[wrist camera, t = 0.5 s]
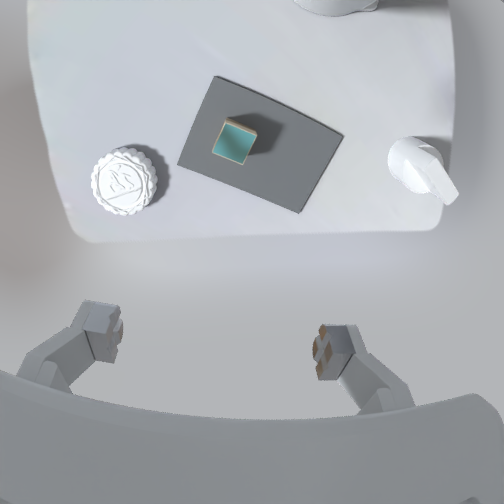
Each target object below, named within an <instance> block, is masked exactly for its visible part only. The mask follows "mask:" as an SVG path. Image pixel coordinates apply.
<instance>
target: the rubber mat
mask: <svg viewBox="0 0 504 504" xmlns="http://www.w3.org/2000/svg"><path fill="white" fill-rule="evenodd" d="M226 118H229V119H231V120H234V121H236V122H239V123H241V124H244V125H246V126H248V127H251V128H253V129H255V130H256V133H257V137H256V139H255V141H254V143H253V145H252V147H251V149H250V151H249V153H248V155H247V158H246V160H245V162H244V164H243V165H241V164H239V163H237V162H234V161H232V160H229V159H227V158H224V157H222V156H219V155H217V154H214V153H212V150H213V147H214V144H215V142H216V140H217V137H218V135H219V133H220V131H221V129H222V126H223V124H224V122H225V120H226ZM341 139H342V136H341V135H339V134H337V133H335V132H334V131H332V130H330V129H328V128H326V127H324V126H323V125H321V124H319V123H317V122H315V121H313V120H311V119H309V118H307V117H305V116H303V115H301V114H299V113H297V112H295V111H293V110H291V109H289V108H287V107H285V106H283V105H281V104H279V103H277V102H274V101H272V100H270V99H268V98H266V97H263V96H261V95H259V94H257V93H254V92H252V91H250V90H247V89H245V88H243V87H240V86H238V85H235V84H233V83H230V82H228V81H225V80H223V79H220V78H217V77H215V76H214V78H213V80H212V82H211V84H210V87H209V89H208V91H207V93H206V95H205V98H204V100H203V102H202V104H201V107H200V109H199V111H198V114H197V116H196V118H195V121H194V123H193V126H192V128H191V130H190V133H189V135H188V138H187V140H186V143H185V145H184V148H183V150H182V153H181V156H180V158H179V161H178V163H177V165H179V166H181V167H184V168H187V169H189V170H192V171H195V172H197V173H200V174H203V175H205V176H208V177H210V178H213V179H216V180H218V181H221V182H223V183H226V184H228V185H231V186H233V187H236V188H238V189H241V190H243V191H246V192H248V193H251V194H253V195H255V196H258V197H260V198H263V199H265V200H268V201H270V202H272V203H275V204H277V205H279V206H282V207H284V208H287V209H289V210H291V211H294V212H296V213H298V214H299V212H300V211H301V209H302V207H303V205H304V204H305V202H306V200H307V199H308V197H309V195H310V193H311V192H312V190H313V188H314V186H315V185H316V183H317V181H318V179H319V178H320V176H321V174H322V172H323V171H324V169H325V167H326V165H327V164H328V162H329V160H330V158H331V156H332V155H333V153H334V151H335V149H336V148H337V146H338V144H339V142H340V140H341Z"/></svg>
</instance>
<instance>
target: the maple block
mask: <svg viewBox="0 0 504 504" xmlns="http://www.w3.org/2000/svg"><path fill="white" fill-rule="evenodd" d="M256 137H257V133H256V130H255V129H253V128H251V127H248V126H246V125H244V124H241V123H239V122H236V121H234V120H231V119H229V118H226V120H225V122H224V124H223V126H222V129H221V131H220V133H219V135H218V137H217V140H216V142H215V144H214V147H213V150H212V153H214V154H217V155H219V156H222V157H224V158H227V159H229V160H232V161H234V162H237V163H239V164H241V165H243V164H244V162H245V160H246V158H247V155H248V153H249V151H250V149H251V147H252V145H253V143H254V141H255V139H256Z"/></svg>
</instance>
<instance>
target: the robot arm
mask: <svg viewBox="0 0 504 504" xmlns="http://www.w3.org/2000/svg"><path fill="white" fill-rule="evenodd" d="M294 1H295V2H296V3H297V4H298V5H300V6H301V7H303V8H305V9H306V10H309V11H311V12H313V13H316V14H320V15H325V16H342V15H346V14H349V13H352V12H355V11H373V10H375V9H376V8H377V5H378V1H379V0H294ZM502 1H503V2H504V0H502ZM120 313H121V311H120V307H119V306H117V305H112V304H106V303H101V302H94V301H89V300H84V301H83V302H82V304H81V306H80V308H79V310H78V312H77V314H76V316H75V318H74V320H73V322H72V324H71V326H70V328H69V327H66V328H65V329H63V330H62V331H60V332H58V333H57V334H55V335H54V336H52V337H51V338H49V339H48V340H46V341H45V342H43V343H42V344H40V345H39V346H37V347H36V348H34V349H33V350H31V351H30V352H28V353H27V354H26V356H25V358H24V360H23V363H22V365H21V367H20V369H19V371H18V373H17V375H16V376H15V375H12V374H9V373H7V372H4V371H1V370H0V504H504V424H503V422H502V419H501V417H500V415H499V413H498V411H497V410H496V409H495V408H494V407H493V406H492V405H491V404H490V403H488V402H487V401H486V400H485V399H483V398H482V397H481V396H479V395H478V394H468V395H464V396H460V397H457V398H452V399H448V400H444V401H440V402H435V403H431V404H426V405H421V406H415V404H414V401H413V398H412V396H411V393H410V391H409V388H408V386H407V384H406V383H405V382H403V381H402V380H401V379H400V378H399V377H398V376H396V375H395V374H394V373H393V372H392V371H391V370H389V369H388V368H387V367H386V366H385V365H383V364H382V363H381V362H380V361H379V360H378V359H376V358H375V357H374V356H373V355H372V354H371V353H369V354H368V353H367V351H366V348H365V345H364V342H363V340H362V337H361V335H360V332H359V330H358V327H357V326H356V325H333V324H322V325H321V326H320V329H319V334H320V335H319V336H317V337H316V338H315V340H314V343H313V358H314V360H315V361H316V362H317V363H318V364H317V366H316V372H317V375H318V380H337V382H338V383H339V384H340V385H341V387H342V388H343V389H344V390H345V391H346V392H347V394H348V395H349V396H350V397H351V398H352V399H353V401H354V402H355V403H356V404H357V405H358V406H359V408H360V409H361V411H360V412H359V413H358V414H357V415H355V416H344V417H332V418H317V419H296V420H294V419H293V420H251V419H250V420H249V419H226V418H211V417H200V416H189V415H180V414H172V413H164V412H157V411H151V410H145V409H138V408H133V407H127V406H122V405H117V404H112V403H108V402H103V401H98V400H94V399H90V398H86V397H82V396H78V395H74V394H73V393H72V392H71V390H70V388H69V385H71V383H73V382H74V381H75V380H76V379H77V378H78V377H79V376H80V375H81V374H82V373H83V372H84V371H85V370H86V369H88V367H90V366H91V365H92V364H93V363H94V362H95V360H96V361H102V362H108V363H114V361H115V359H116V355H117V352H118V349H117V345H118V344H119V343H120V342H121V339H122V335H123V322H122V320H121V319H120V318H119V316H120Z"/></svg>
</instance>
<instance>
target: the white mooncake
mask: <svg viewBox="0 0 504 504" xmlns="http://www.w3.org/2000/svg"><path fill="white" fill-rule="evenodd" d="M155 174H156V169H155V167H154V166H152V162H151V160H150V159H149V158H146V157H145V154H144V153H143V152H137V150H136V149H134V148H130V149H128V148H126V147H122V148H120V149H113V150H112V151H111V152H109V153H107V154H106V155H104V156H103V157H101V158H100V160H99V162H98V163H97V164H96V165H95V166H94V172H93V173H92V174H91V178H92V180H93V181H92V182H91V187H92V189H94V191H93V194H94V196H95V197H96V198H98V203H99V204H100V205H104V208H105V209H106V210H107V211H112V213H114V214H116V215H117V214H121V215H123V216H127V215H128V214H131V215H134V214H136V213H137V211H142V210H143V209H144V208H145V206H146V205H148V204H149V203H150V201H151V200H152V198H153V194H154V193H155V191H156V189H157V186H156V183H157V181H158V178H157V176H156V175H155Z"/></svg>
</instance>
